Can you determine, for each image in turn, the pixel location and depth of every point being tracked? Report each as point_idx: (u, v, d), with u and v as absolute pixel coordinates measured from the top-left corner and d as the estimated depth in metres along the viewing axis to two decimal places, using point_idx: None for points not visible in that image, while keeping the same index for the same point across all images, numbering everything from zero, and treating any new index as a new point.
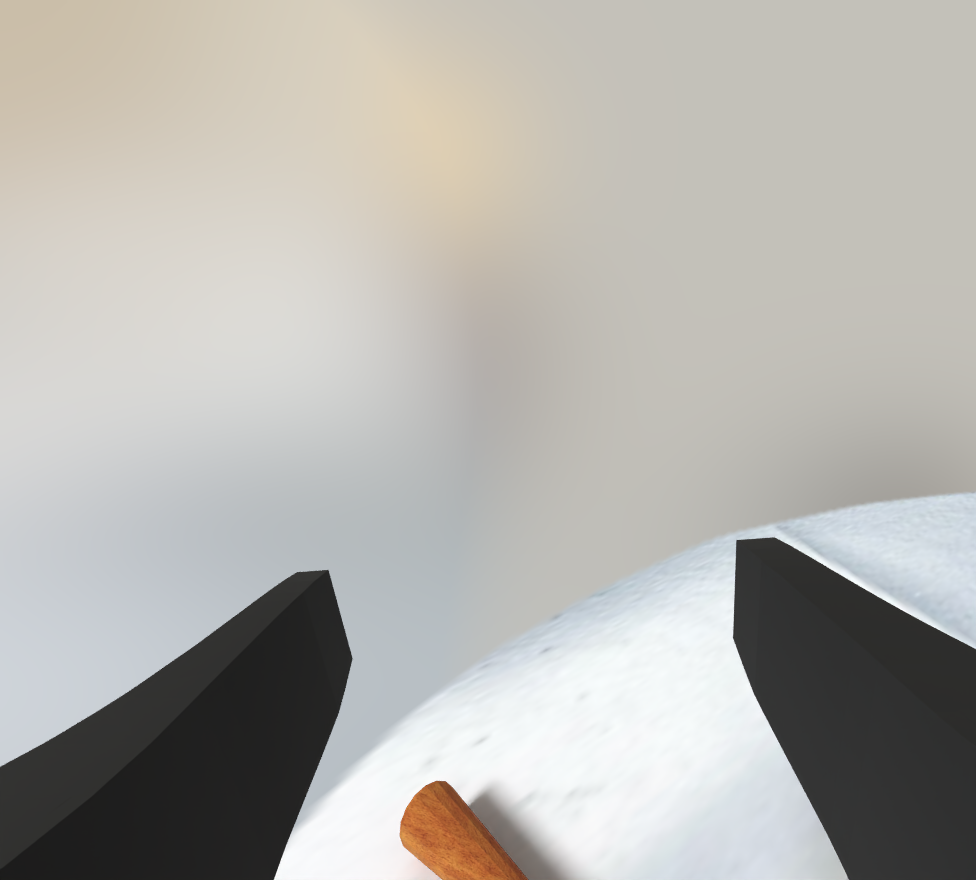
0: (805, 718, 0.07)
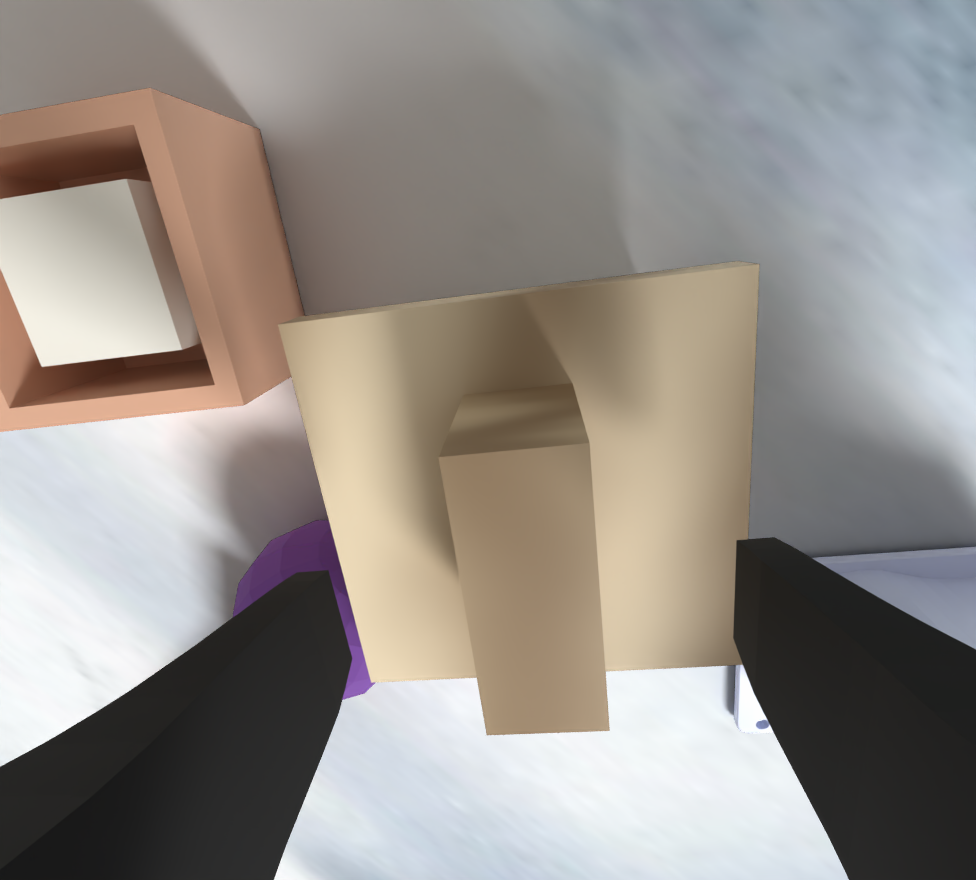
0: (805, 718, 0.07)
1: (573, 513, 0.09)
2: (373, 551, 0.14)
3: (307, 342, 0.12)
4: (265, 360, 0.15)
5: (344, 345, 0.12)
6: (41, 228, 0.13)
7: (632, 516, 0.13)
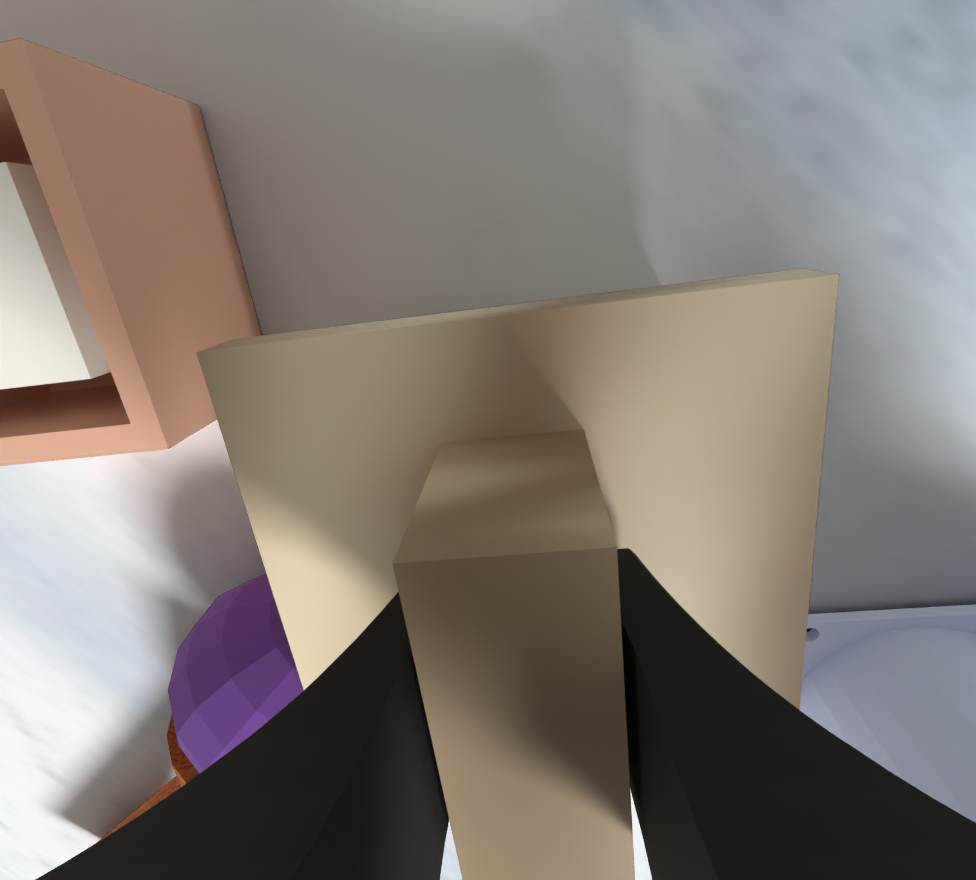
0: None
1: (590, 642, 0.06)
2: (331, 633, 0.11)
3: (235, 375, 0.09)
4: (201, 389, 0.12)
5: (284, 379, 0.09)
6: None
7: None
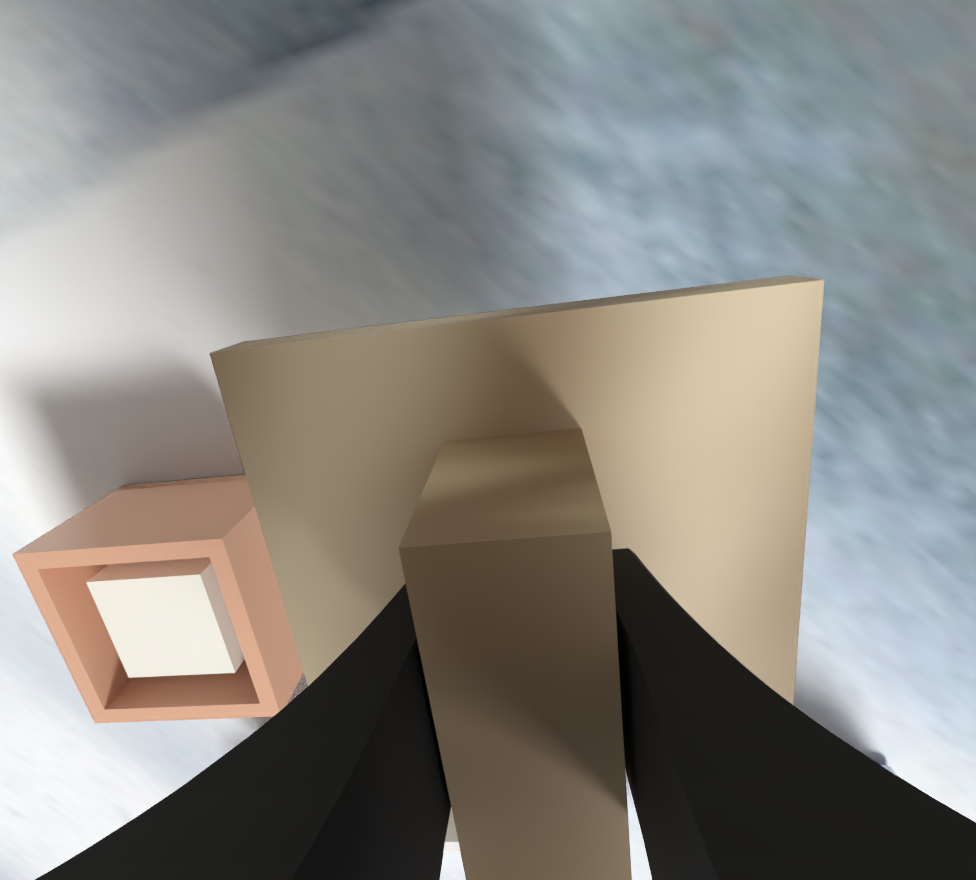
0: (626, 725, 0.07)
1: (587, 625, 0.06)
2: (335, 628, 0.11)
3: (247, 375, 0.09)
4: (294, 662, 0.20)
5: (293, 379, 0.09)
6: (135, 598, 0.18)
7: None
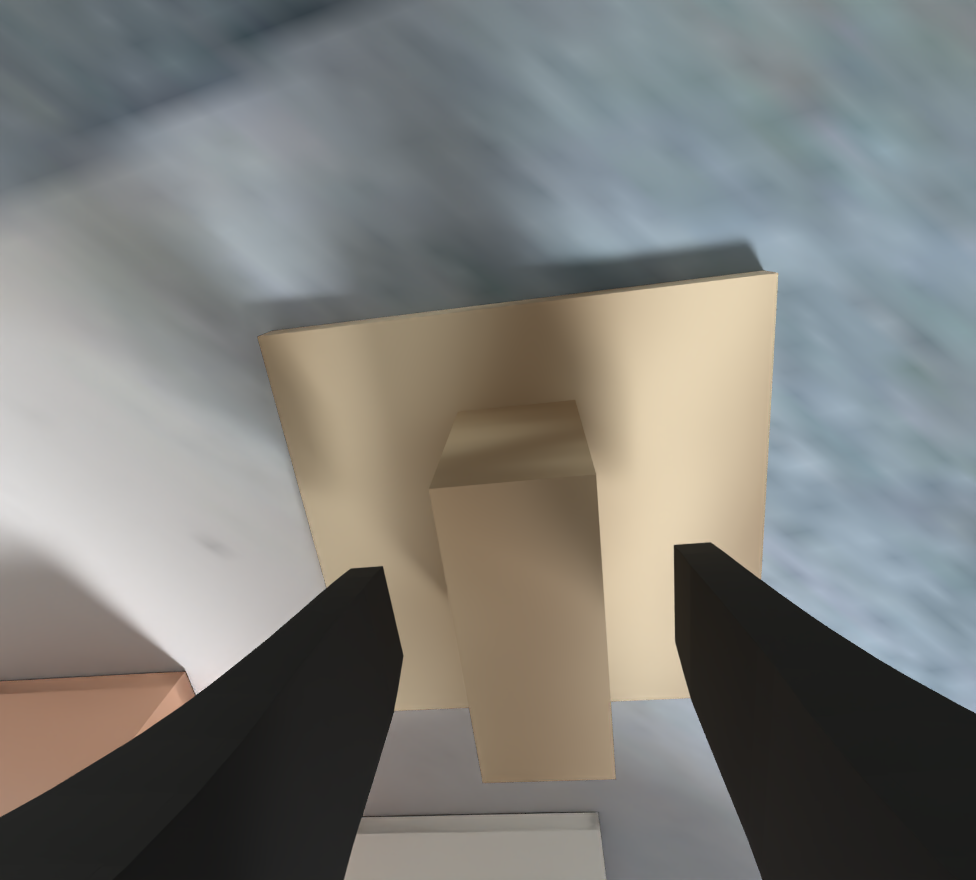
0: (726, 721, 0.07)
1: (578, 551, 0.08)
2: None
3: (289, 355, 0.11)
4: None
5: (329, 359, 0.11)
6: None
7: (638, 540, 0.12)
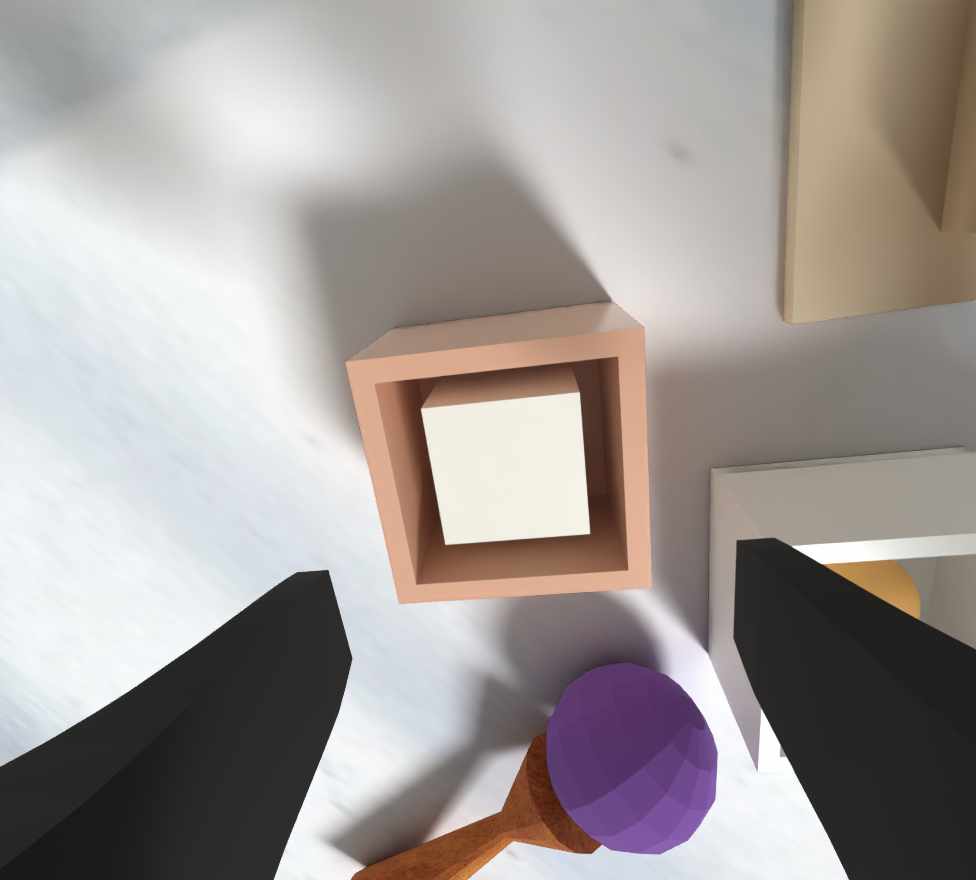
0: (805, 719, 0.07)
1: None
2: (835, 163, 0.15)
3: None
4: None
5: None
6: (482, 430, 0.14)
7: None
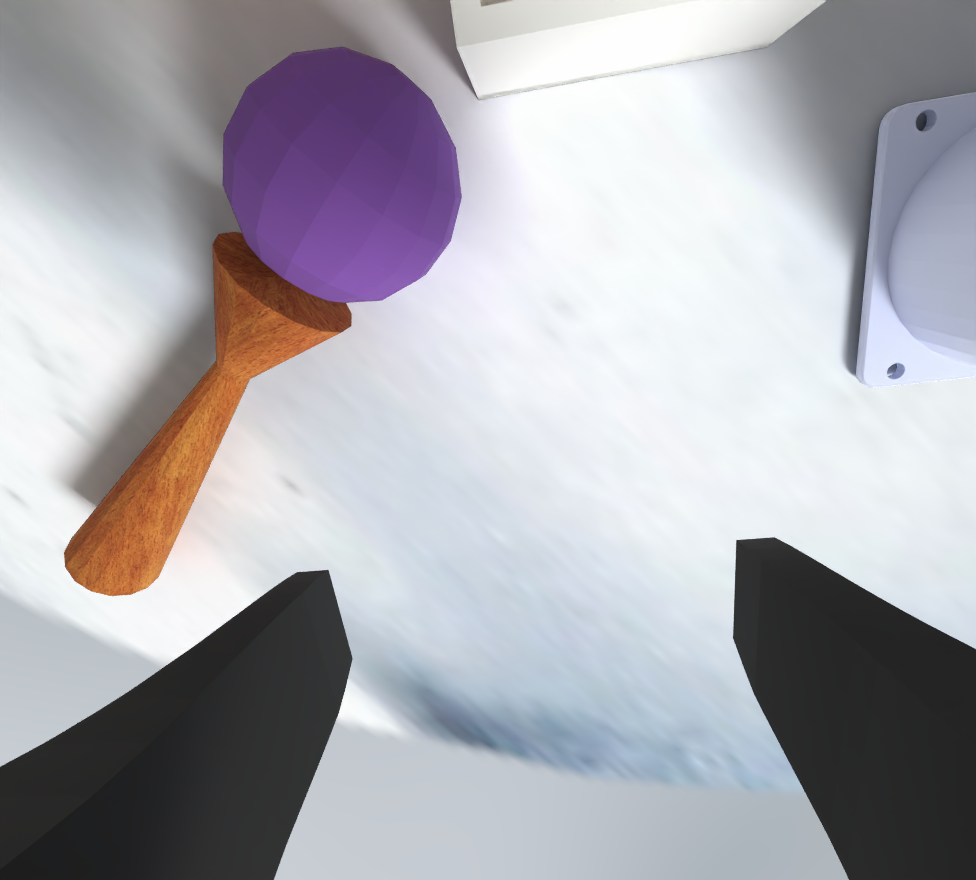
0: (805, 718, 0.07)
1: None
2: None
3: None
4: None
5: None
6: None
7: None
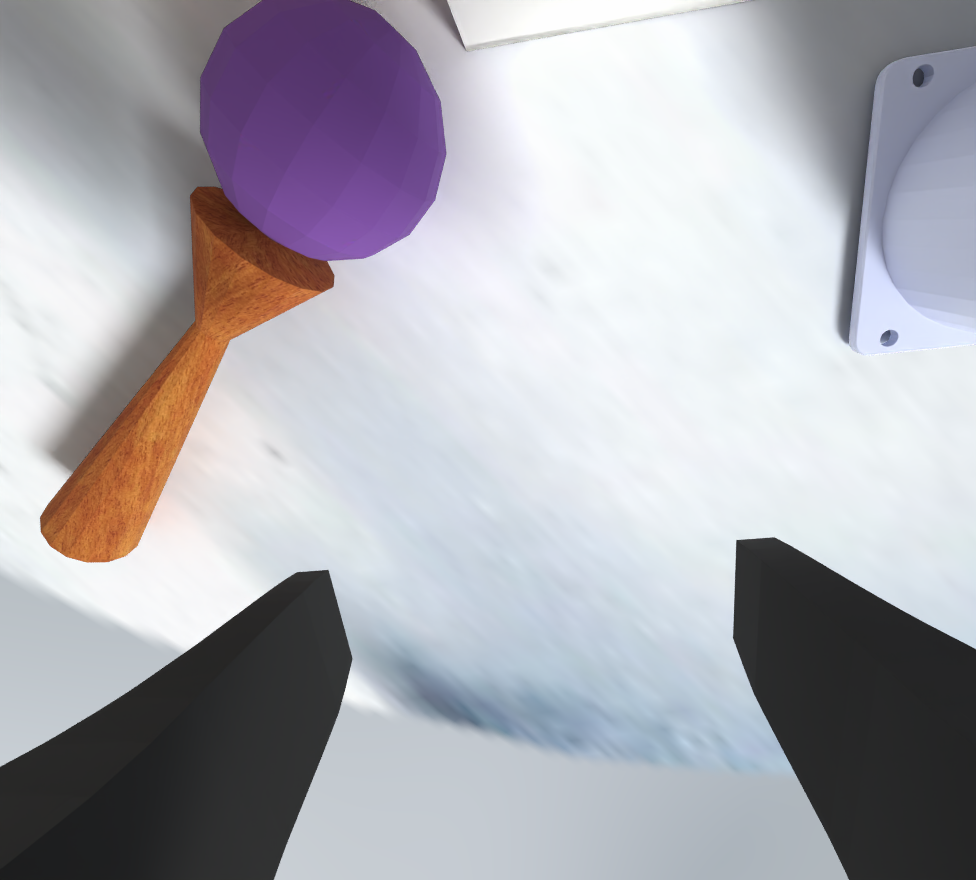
0: (805, 718, 0.07)
1: None
2: None
3: None
4: None
5: None
6: None
7: None
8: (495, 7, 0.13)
